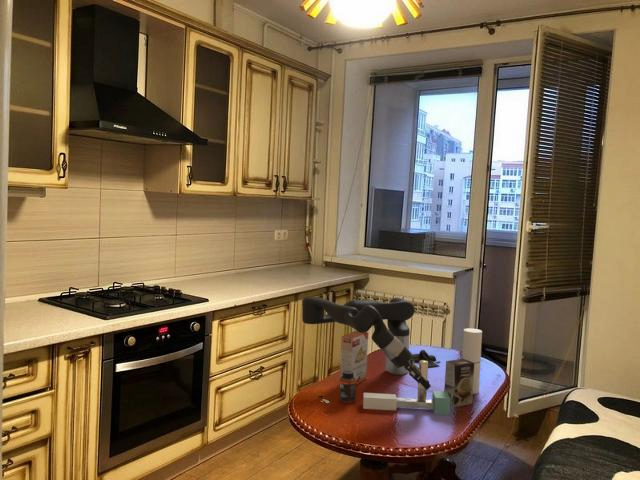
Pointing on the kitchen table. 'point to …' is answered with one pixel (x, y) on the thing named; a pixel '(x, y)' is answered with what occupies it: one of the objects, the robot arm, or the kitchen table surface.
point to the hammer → (422, 392)
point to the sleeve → (379, 401)
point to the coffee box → (459, 381)
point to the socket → (441, 402)
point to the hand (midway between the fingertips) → (428, 385)
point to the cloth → (426, 357)
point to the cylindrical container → (473, 353)
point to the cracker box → (354, 355)
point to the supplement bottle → (347, 387)
